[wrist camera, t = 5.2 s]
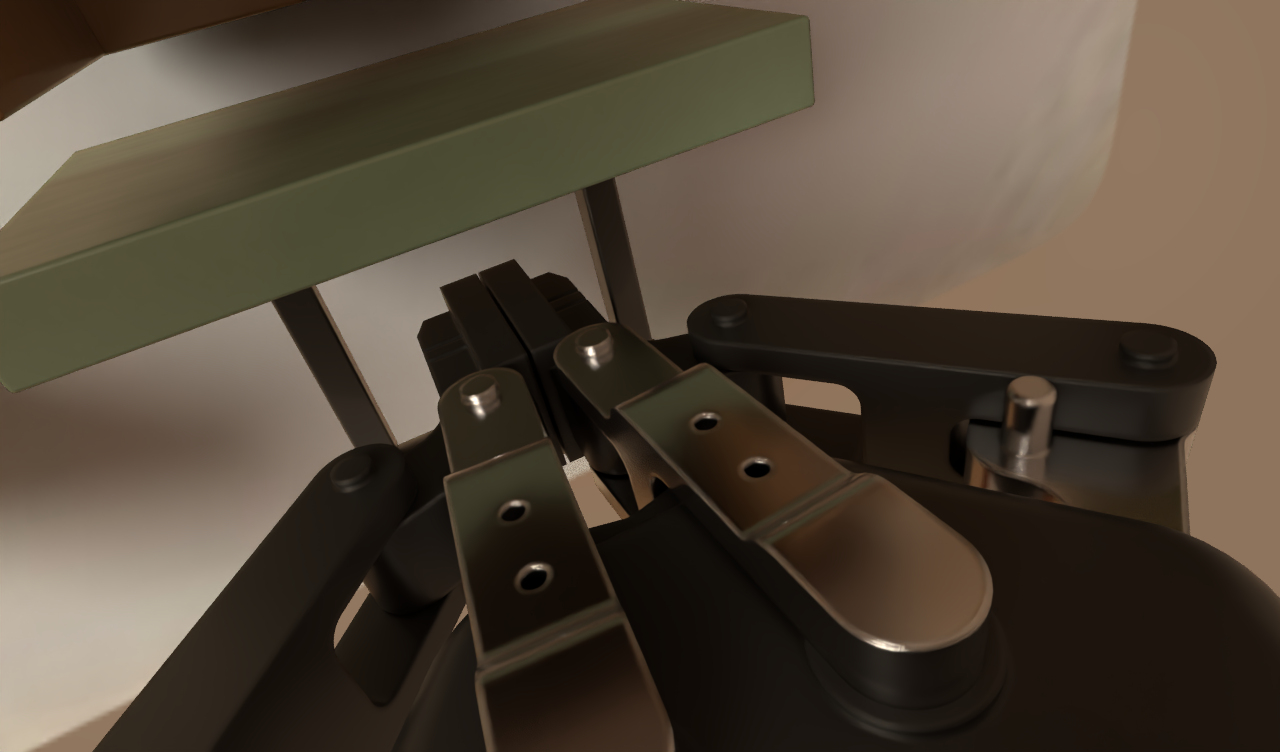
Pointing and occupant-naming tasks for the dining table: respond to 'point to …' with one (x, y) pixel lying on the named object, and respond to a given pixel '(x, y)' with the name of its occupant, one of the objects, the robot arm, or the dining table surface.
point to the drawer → (356, 169)
